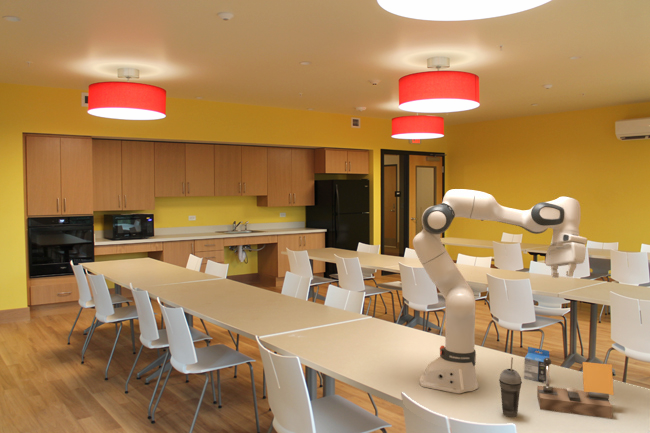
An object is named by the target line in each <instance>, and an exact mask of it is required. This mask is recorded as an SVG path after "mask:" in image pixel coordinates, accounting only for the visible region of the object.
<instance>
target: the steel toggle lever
mask: <svg viewBox="0 0 650 433" xmlns="http://www.w3.org/2000/svg"><path fill="white" fill-rule="evenodd" d="M544 364H545V365H546V383H545V384H546V385H542V386H543V391H546V392H553V386H550V365H551V364H552V359H551V358H550V359H549V358H545V359H544Z"/></svg>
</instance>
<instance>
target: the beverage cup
mask: <svg viewBox="0 0 650 433" xmlns="http://www.w3.org/2000/svg"><path fill="white" fill-rule="evenodd" d="M510 358H511V359H510V368H506V369H504V370H503V371H501V373H500V375H499V379H498V381H499V387H500V398H501V408H502V415H503V416H504V417H505V418H506V417H507V418H510V419H512V418H513V419H515V418H517V417H518V411H519V402H520V393H521V392H520V391H521V388H522V384H523V382H522V377H521V375H520V374H519V372H518V371H517V370H515V369H513V361H514V357H512V356H511V357H510Z"/></svg>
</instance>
